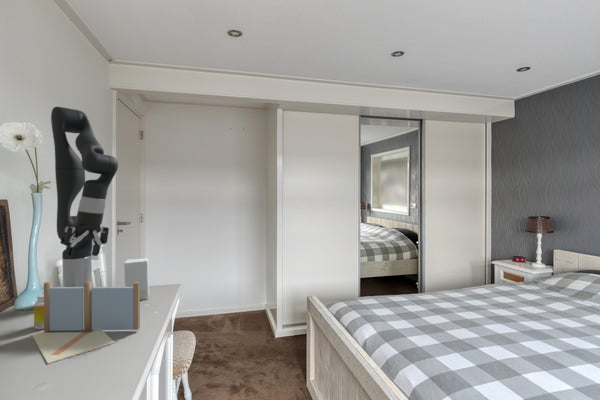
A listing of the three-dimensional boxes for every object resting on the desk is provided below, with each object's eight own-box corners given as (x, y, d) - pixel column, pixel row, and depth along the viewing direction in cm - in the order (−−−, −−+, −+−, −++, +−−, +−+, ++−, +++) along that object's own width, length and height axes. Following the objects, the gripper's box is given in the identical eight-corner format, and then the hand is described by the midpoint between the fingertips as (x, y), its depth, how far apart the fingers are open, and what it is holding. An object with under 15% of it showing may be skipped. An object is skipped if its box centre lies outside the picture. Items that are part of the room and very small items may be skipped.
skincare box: (149, 294, 130) (149, 257, 129) (148, 299, 124) (148, 261, 123) (127, 296, 127) (127, 258, 127) (124, 302, 121) (124, 262, 120)
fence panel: (91, 330, 95) (91, 283, 95) (94, 328, 96) (93, 282, 96) (138, 329, 96) (138, 283, 96) (139, 327, 97) (139, 282, 97)
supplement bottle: (47, 330, 96) (47, 297, 96) (29, 330, 96) (29, 297, 96) (61, 322, 102) (60, 291, 101) (43, 322, 102) (43, 291, 101)
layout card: (31, 334, 93) (31, 333, 93) (90, 319, 104) (90, 318, 104) (47, 364, 78) (47, 362, 78) (114, 342, 89) (114, 341, 89)
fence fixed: (42, 333, 94) (41, 283, 93) (47, 330, 96) (47, 281, 95) (89, 333, 95) (89, 283, 94) (93, 330, 97) (93, 281, 96)
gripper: (104, 209, 116) (95, 252, 115) (62, 207, 103) (52, 255, 102) (117, 213, 113) (108, 257, 112) (76, 211, 100) (66, 261, 99)
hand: (82, 256), depth 107 cm, fingers open, 8 cm apart
